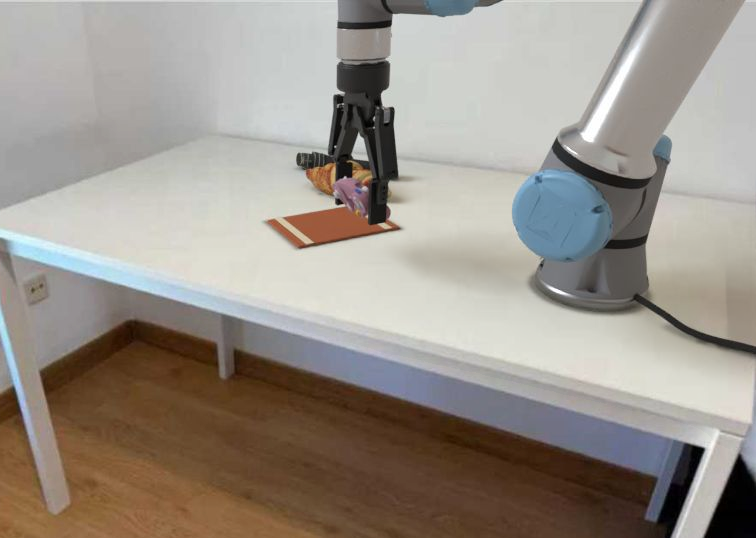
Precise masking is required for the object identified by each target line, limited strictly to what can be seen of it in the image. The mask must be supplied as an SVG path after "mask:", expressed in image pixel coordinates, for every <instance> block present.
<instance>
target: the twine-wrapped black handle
mask: <svg viewBox="0 0 756 538" xmlns="http://www.w3.org/2000/svg"><path fill="white" fill-rule="evenodd" d="M353 158H354V157H353ZM353 158H352V159H353ZM351 161H354V162H357V163H358V164H360V165H361V166H362V168H363V169H364V170H371V169H370V165H369V160H364V159H357V158H354V159H353V160H351ZM295 163H296V166H297V167H302V168H307V169H314V168H315V167H324V166H326V165H327V164H328V163H333V164H334V161H333V156H329V155H328V154H326V153H324V152H323V153H321V152H318V151H313V150H312V151H311V153H308V152H297V154H296V157H295ZM397 165H398V166H399V164H398V163H397ZM390 172H391V171H390Z"/></svg>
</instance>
